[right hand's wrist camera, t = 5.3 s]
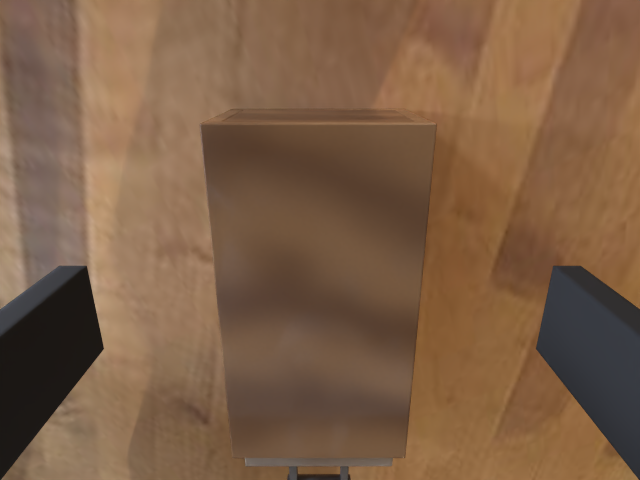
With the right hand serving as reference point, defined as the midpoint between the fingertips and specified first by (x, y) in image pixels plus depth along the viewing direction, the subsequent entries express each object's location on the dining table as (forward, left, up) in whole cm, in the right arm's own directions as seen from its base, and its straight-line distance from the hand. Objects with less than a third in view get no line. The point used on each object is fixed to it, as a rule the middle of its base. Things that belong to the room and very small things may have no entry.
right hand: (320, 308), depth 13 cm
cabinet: (+3, -6, -19) cm, 20 cm away
